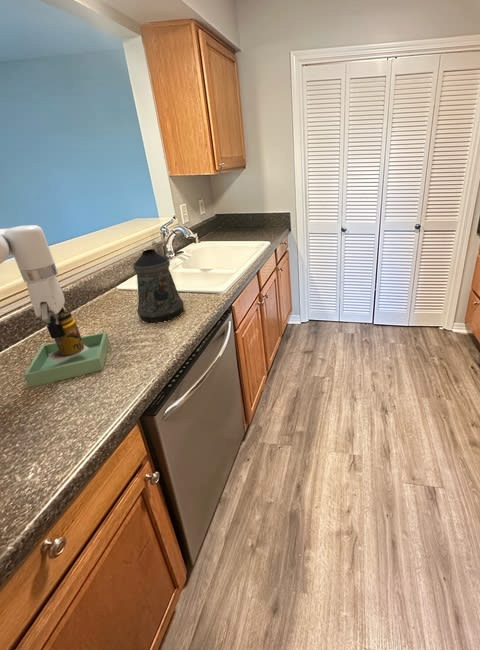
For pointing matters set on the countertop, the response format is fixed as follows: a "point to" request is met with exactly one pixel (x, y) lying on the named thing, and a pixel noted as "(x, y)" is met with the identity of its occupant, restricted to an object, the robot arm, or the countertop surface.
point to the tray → (67, 361)
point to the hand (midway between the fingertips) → (61, 330)
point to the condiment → (68, 339)
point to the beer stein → (156, 289)
